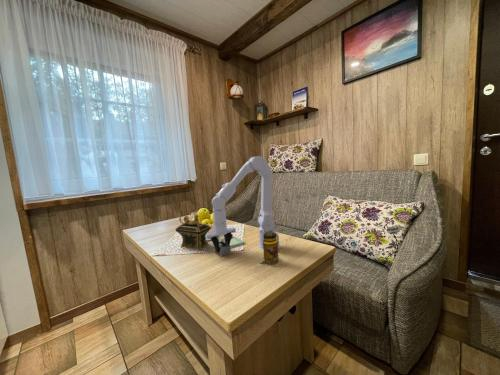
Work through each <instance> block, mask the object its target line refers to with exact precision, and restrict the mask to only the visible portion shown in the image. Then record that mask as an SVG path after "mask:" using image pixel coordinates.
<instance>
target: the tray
mask: <svg viewBox="0 0 500 375" xmlns="http://www.w3.org/2000/svg"><path fill="white" fill-rule="evenodd" d="M232 235H233V237H232V239H231V241H230V249H232V248H236V247H238V246H242V245H245V244H246V241H244V240H243V239H241V238H239V237H238V236H235V235H234V234H232ZM218 239H219V242H220V241H224V242H225V239H224V237H221V238H218Z"/></svg>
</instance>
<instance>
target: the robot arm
mask: <svg viewBox="0 0 500 375" xmlns="http://www.w3.org/2000/svg"><path fill="white" fill-rule="evenodd" d="M254 172H256V173H257V174H258V175H260V177H261V187H260V188H261V193H260V195H261V196H260V210H259V214H258V217H257V224H258V225H259V228H258V235H259V236H258V237H259V244H258V245H256V247H257V248H259V249H261V250H263V240H264V239H263V238H264V236H263V235H264V234H265V233H268V232H273V233H275V234H276V238H277V241H278V250H280V249H281V248H282V247H281V246H280V236H279V234H278V233H277V232H276V231H275V226H276V223H275V221H274V213H273V209H272V205H273V203H272V202H273V181H274V180H273V178H274V177H273V174H274V173H273V171H272V169H271V167H270V165H269V163H268V160H266V159H265V158H264V157H263V156H261V155H257V156H252V157H249V159H248V160H247V161H246V162H245V163H244V164H243V165H242V166H241V168H239V170H238V171H237V173H236V174H235V176H234V177H233V178H232V180H231V181H230V182H226V183H223V184H222V185H221V187H222V188H221V189H220V190H219V191H218V192H216V194H215V196H214V197H213V198H212V199H211V206H212V218H213V219H212V220H213V227H214V228H213V229H214V231H212V232H210V233H209V232H208V233H207V234H206V235H205V237H206V241H208V240H210V241H211V242H212V244H213V246H214V250H215V249H216V252H217V253H219V239H220V238H218V237H221V236H223V238H224V239H225V243H227V244H229V245H230V241H231V239H232V237H233V235H234V234H232V233H236V232H237V230H236V228H235V227H229V228H228V227H227V215H226V209H225V208H226V203H227V202H228V201H230V199H231V198H232V197H233V195H234V194H235V193H236V192H237V186H238V185H239V184H240V182H241V181H243V179H244V178H245V177H246V176H247V174H251V173H254Z"/></svg>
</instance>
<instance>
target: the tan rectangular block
mask: <svg viewBox="0 0 500 375" xmlns="http://www.w3.org/2000/svg"><path fill="white" fill-rule="evenodd" d="M219 246H220V247H222V244H221V243H220V244H219ZM213 253H214V254H216V255H217V256H219V257H220V259H221V258H224V257H228V256H231V255H233V252H231V254H229V255H226V256H223V257H222V256H221V255H219V254H218V253H217V252H216V251H215V250H213Z"/></svg>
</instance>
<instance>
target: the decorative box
mask: <svg viewBox="0 0 500 375" xmlns="http://www.w3.org/2000/svg"><path fill="white" fill-rule="evenodd" d="M198 211H199V208H196V211H195V212H194V213H193V215H194V216H193V217H194V219H193V220H190V219H189V218H190V217H189V216H188V215H184V216H183V221H184V222H183V221H182V219H181V217H182V216H181V215H182V214H181V212H180V211H179V210H177V212H178V213H177V214H176V215H177V216H178V217H179V218H178V220H179V223H180V225H179V226H177V227H175V232H177V233H178V234H179V235H180V236H181V239H182V242H181V245H180V248H187V249H191V250H196V251H199V250H202V249H203V248H205V247H207V246H209V245H210V244H209V242H208V240H207V239H206V237H205V235H206V234H209V232H210V230H211V229H212V228H211V226H210V225H208V224H206V223H202V222H199V220H200V219H199V214H197V212H198Z"/></svg>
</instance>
